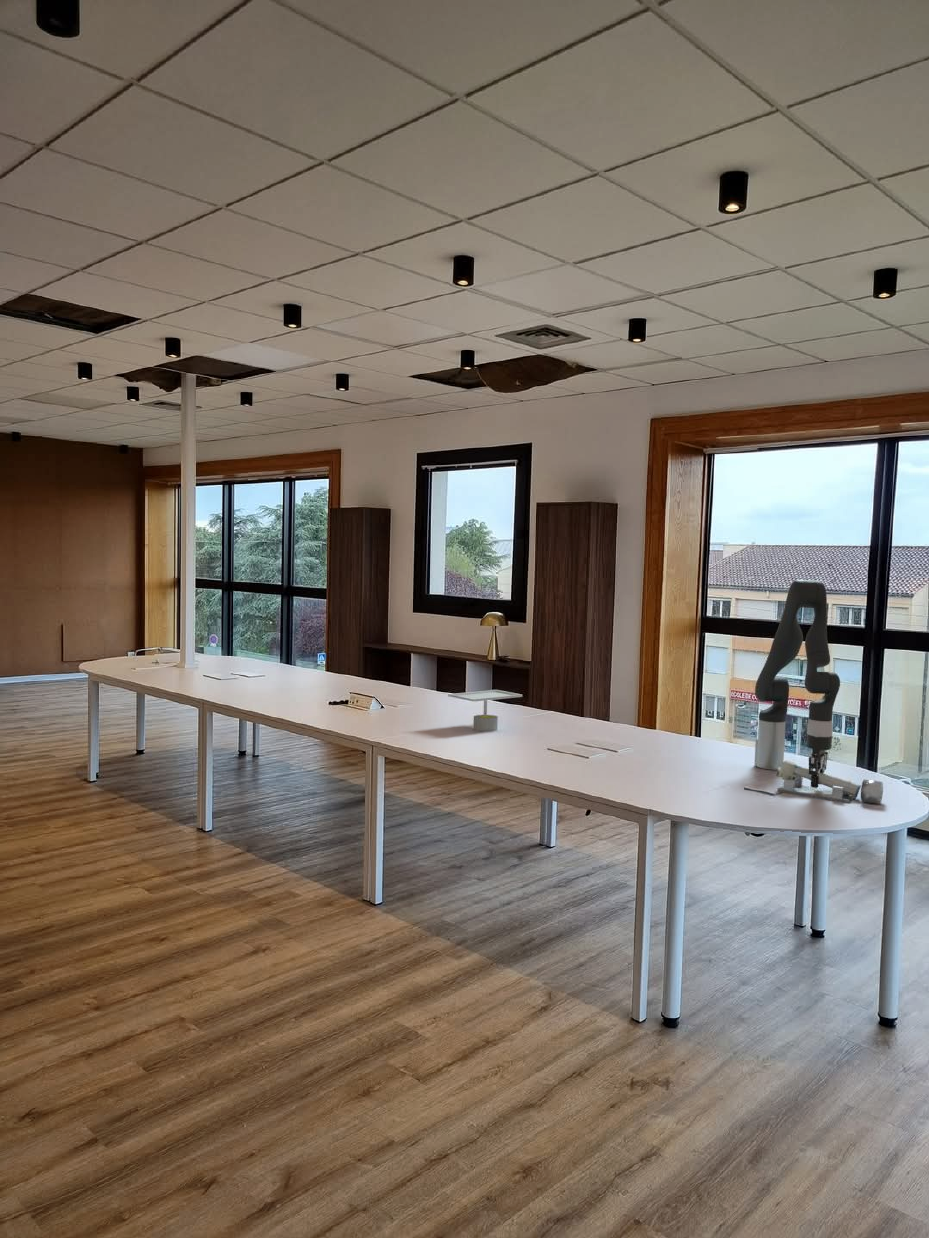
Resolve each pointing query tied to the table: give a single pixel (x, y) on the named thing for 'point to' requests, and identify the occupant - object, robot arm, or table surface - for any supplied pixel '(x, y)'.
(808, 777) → the white handheld massager
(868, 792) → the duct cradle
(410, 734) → the table surface
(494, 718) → the grey flat rectangular-topped stand
